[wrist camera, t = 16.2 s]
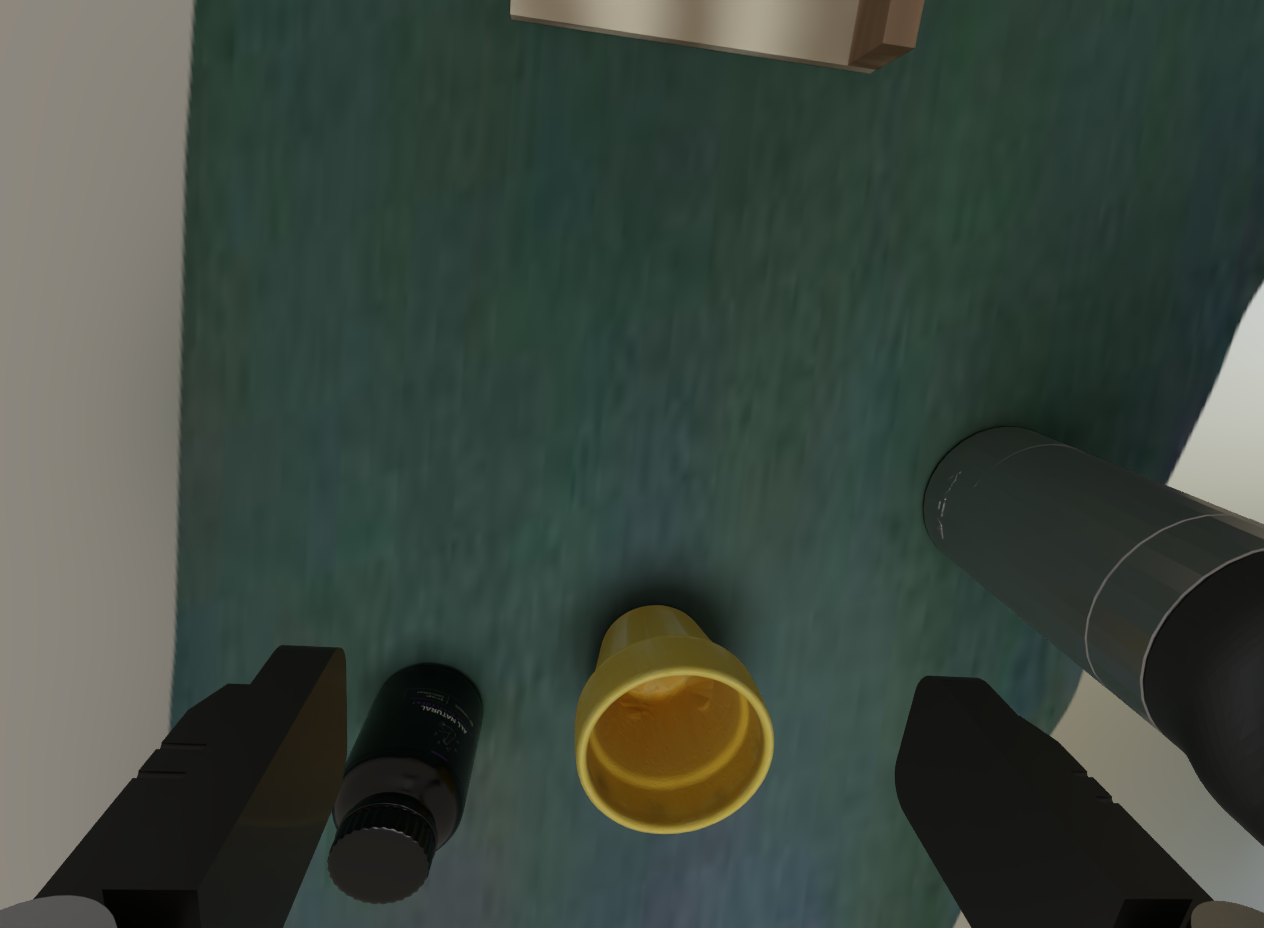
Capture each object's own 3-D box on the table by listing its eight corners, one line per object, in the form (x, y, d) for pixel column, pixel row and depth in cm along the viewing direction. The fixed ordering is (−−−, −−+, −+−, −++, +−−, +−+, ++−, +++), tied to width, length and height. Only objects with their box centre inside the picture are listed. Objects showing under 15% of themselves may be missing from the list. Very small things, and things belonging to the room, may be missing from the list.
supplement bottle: (483, 660, 43) (452, 809, 32) (484, 750, 45) (456, 920, 34) (370, 660, 43) (298, 812, 31) (377, 752, 45) (311, 925, 33)
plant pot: (765, 650, 45) (816, 757, 36) (645, 743, 46) (664, 868, 37) (664, 544, 42) (690, 630, 33) (539, 647, 43) (531, 757, 34)
